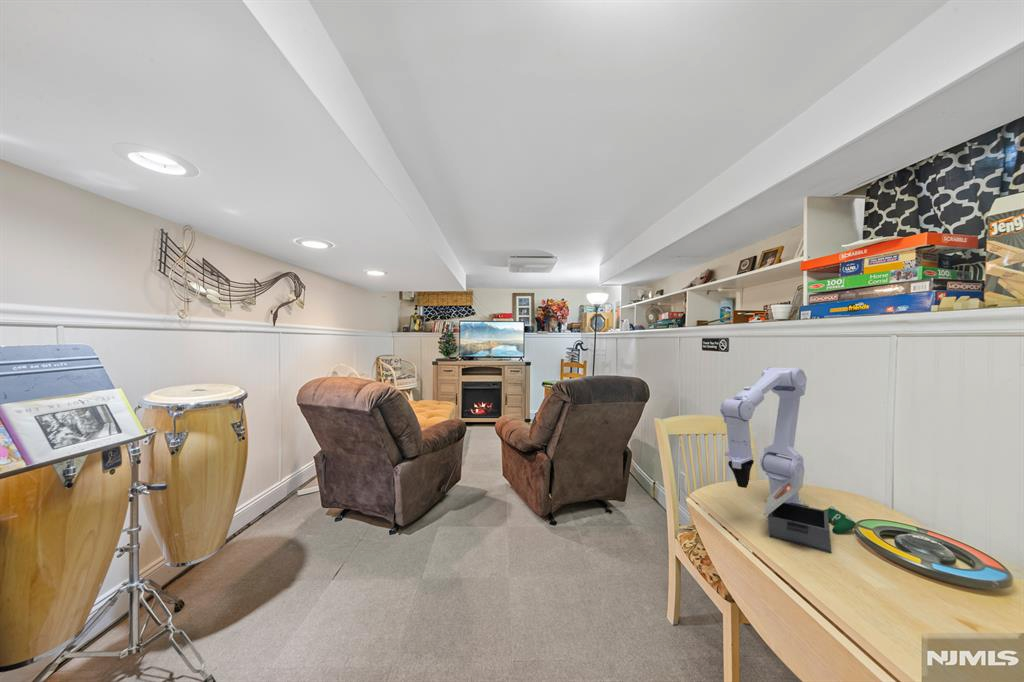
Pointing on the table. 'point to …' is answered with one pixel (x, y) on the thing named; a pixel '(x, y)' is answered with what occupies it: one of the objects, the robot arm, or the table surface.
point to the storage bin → (801, 526)
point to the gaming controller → (840, 521)
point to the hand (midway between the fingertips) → (743, 485)
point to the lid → (784, 492)
